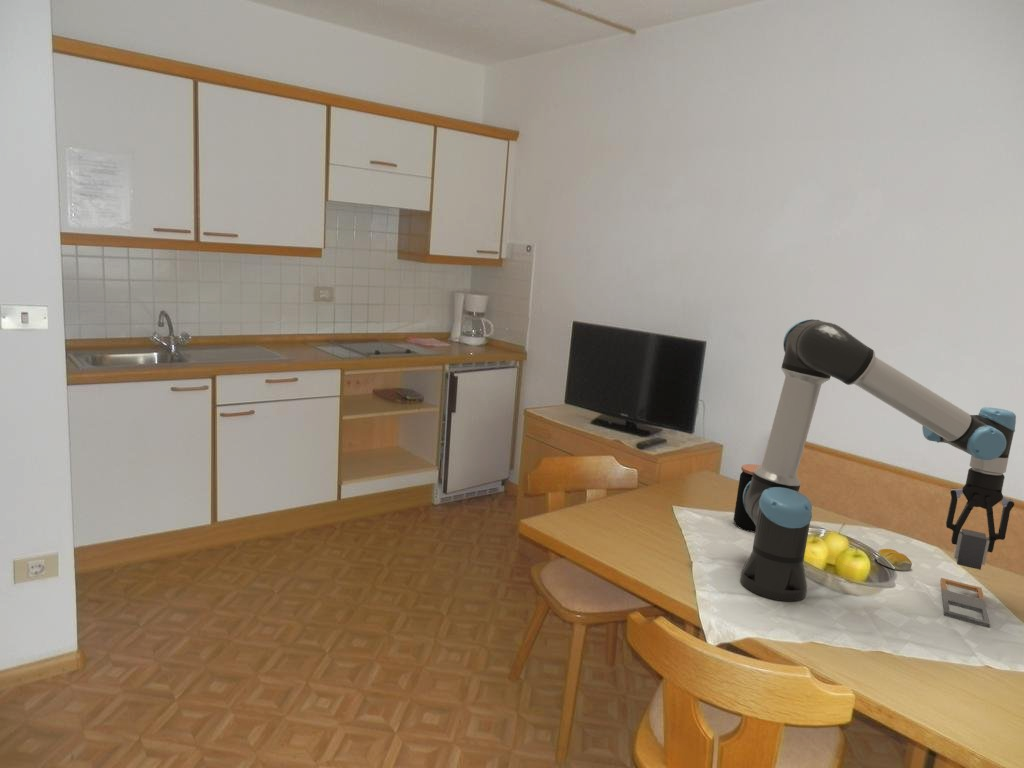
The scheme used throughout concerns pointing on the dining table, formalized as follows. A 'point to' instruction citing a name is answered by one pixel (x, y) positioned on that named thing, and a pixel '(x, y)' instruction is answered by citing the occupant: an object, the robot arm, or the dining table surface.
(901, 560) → the bread roll
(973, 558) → the block
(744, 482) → the coffee jar
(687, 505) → the dining table surface
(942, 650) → the dining table surface
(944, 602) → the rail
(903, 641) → the dining table surface
